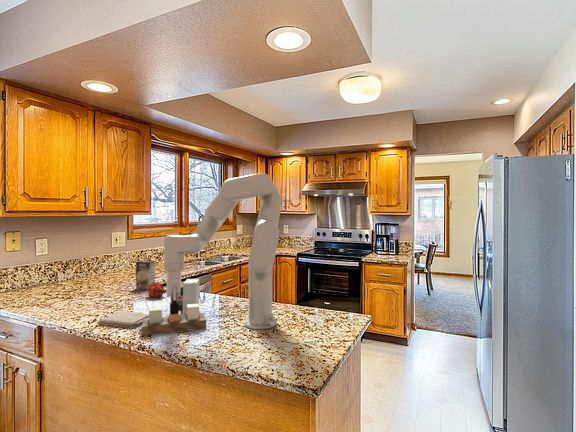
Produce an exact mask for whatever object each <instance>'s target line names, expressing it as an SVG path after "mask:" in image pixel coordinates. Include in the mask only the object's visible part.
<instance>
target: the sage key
mask: <svg viewBox="0 0 576 432" xmlns="http://www.w3.org/2000/svg"><path fill="white" fill-rule="evenodd" d="M162 308H163V307H162V306H155V307H149V308H148V315H149V324H154V323H162V317H163V316H162V315H163V311H162Z"/></svg>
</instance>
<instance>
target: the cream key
mask: <svg viewBox="0 0 576 432" xmlns="http://www.w3.org/2000/svg"><path fill="white" fill-rule="evenodd" d="M199 313H200V303H199V304H187V320H193V319H199Z"/></svg>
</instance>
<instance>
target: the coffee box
mask: <svg viewBox="0 0 576 432" xmlns="http://www.w3.org/2000/svg"><path fill="white" fill-rule="evenodd" d="M155 279H156V260H142V259H141V260H138V261H135V289H136V290H137V289H139V290H148V287H149V286H150V285H151V283H153V282H156V280H155Z"/></svg>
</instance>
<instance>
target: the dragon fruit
mask: <svg viewBox="0 0 576 432" xmlns="http://www.w3.org/2000/svg"><path fill="white" fill-rule="evenodd" d="M146 291H147V294H148V296H149V298H150V297H152V298H154V299H158V298H159V297H162V296H163V295H164V294H167V289H166V288H165V287H164V285H163V283H161V282H158V281H155V282H153V283H151V285H150V286H149V287H148V289H146Z"/></svg>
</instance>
